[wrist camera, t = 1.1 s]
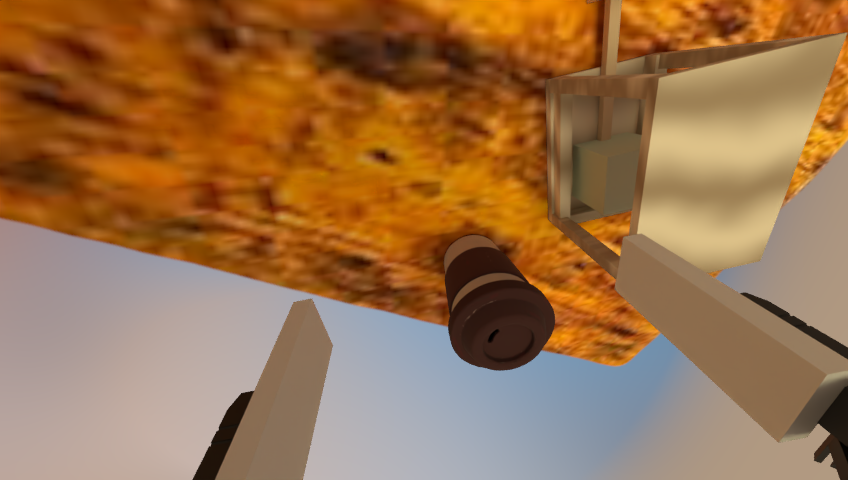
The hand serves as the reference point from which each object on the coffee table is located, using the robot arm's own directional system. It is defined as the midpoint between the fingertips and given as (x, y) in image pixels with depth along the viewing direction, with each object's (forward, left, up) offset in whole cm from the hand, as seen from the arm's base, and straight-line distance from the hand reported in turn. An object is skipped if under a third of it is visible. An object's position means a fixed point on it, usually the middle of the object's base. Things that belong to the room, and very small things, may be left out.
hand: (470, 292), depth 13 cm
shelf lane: (+3, +20, -23) cm, 31 cm away
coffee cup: (+14, +4, -24) cm, 27 cm away
